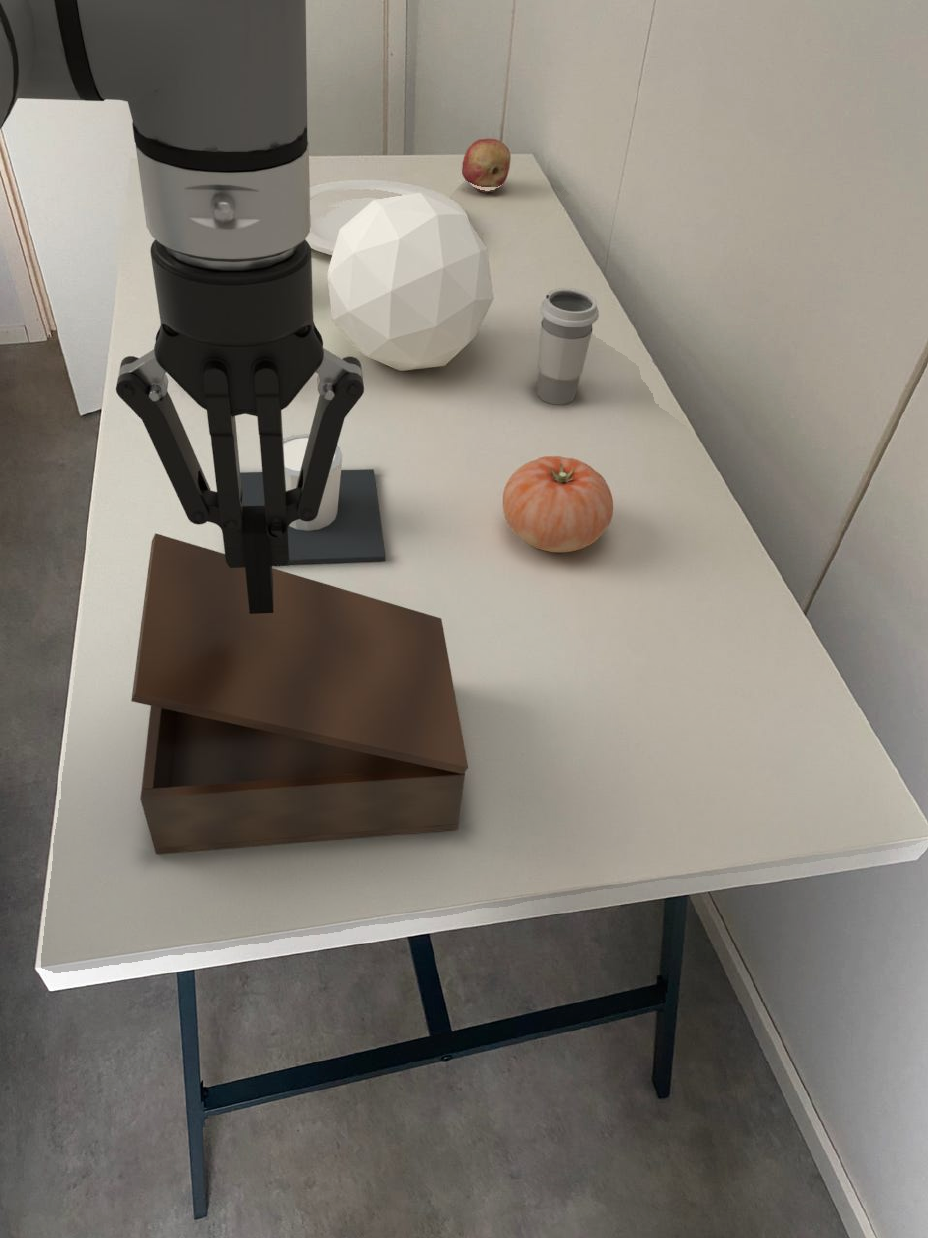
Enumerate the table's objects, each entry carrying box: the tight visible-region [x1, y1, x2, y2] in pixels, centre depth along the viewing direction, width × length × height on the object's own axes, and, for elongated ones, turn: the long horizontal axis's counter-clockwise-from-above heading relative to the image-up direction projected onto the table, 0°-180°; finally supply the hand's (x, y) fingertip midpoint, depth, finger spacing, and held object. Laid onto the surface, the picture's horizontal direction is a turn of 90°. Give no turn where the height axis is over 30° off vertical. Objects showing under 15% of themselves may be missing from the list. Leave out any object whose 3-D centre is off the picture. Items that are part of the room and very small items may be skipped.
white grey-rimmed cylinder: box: [283, 433, 343, 531], centre depth 93 cm, size 7×7×7 cm
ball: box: [326, 193, 495, 372], centre depth 113 cm, size 19×20×20 cm
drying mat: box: [240, 468, 386, 566], centre depth 96 cm, size 14×14×1 cm
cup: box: [536, 287, 600, 406], centre depth 112 cm, size 7×7×12 cm
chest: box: [140, 706, 466, 855], centre depth 72 cm, size 22×15×7 cm
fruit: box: [461, 138, 512, 194], centre depth 157 cm, size 8×8×8 cm
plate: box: [305, 178, 470, 256], centre depth 144 cm, size 28×28×2 cm
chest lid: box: [130, 533, 469, 774], centre depth 66 cm, size 23×15×1 cm, turn 98°
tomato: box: [502, 455, 614, 553], centre depth 94 cm, size 11×11×8 cm
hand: (261, 598), depth 62 cm, fingers closed
